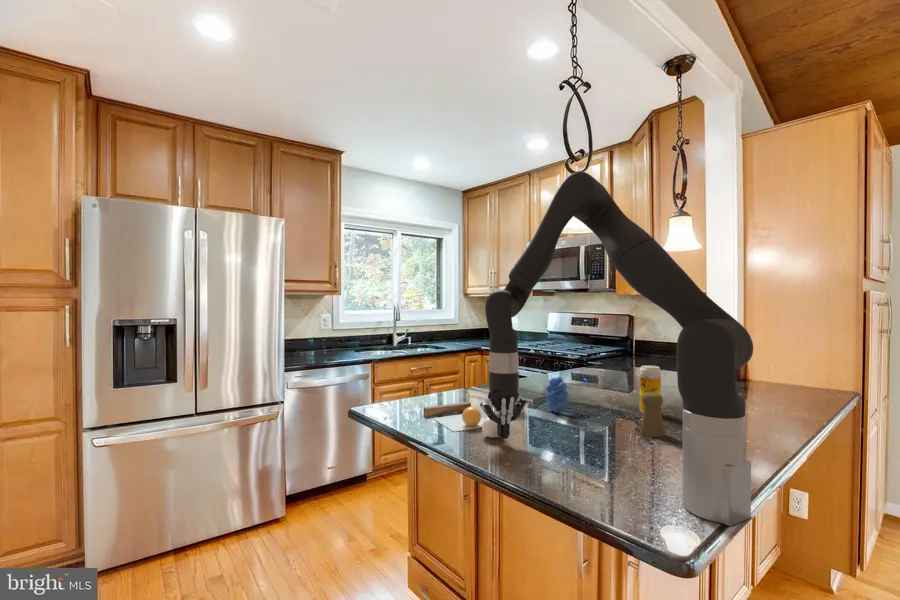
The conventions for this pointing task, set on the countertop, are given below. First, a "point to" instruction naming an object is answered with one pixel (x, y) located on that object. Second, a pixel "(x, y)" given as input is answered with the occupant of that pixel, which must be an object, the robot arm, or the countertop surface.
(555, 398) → the grapes
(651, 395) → the olive tall flared piece
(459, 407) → the wooden stick
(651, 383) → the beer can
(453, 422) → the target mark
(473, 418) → the orange ball
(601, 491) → the countertop surface
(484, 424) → the cue ball
